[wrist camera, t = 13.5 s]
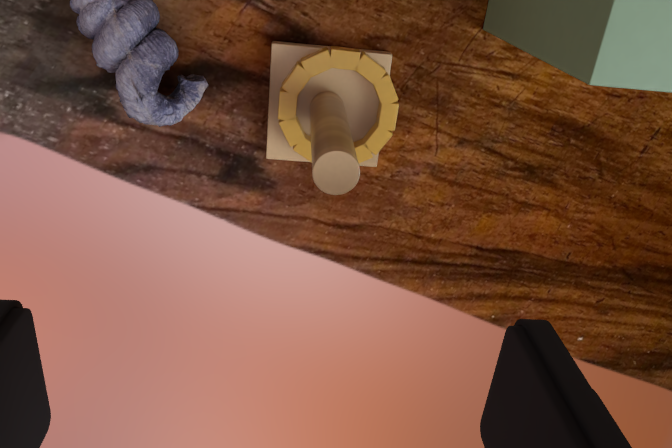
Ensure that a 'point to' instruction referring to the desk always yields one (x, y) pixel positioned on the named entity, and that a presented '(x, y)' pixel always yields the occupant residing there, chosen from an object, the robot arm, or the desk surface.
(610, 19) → the stand
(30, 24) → the desk surface
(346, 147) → the post
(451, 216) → the desk surface
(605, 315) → the desk surface
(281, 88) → the ring
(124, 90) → the seashell
